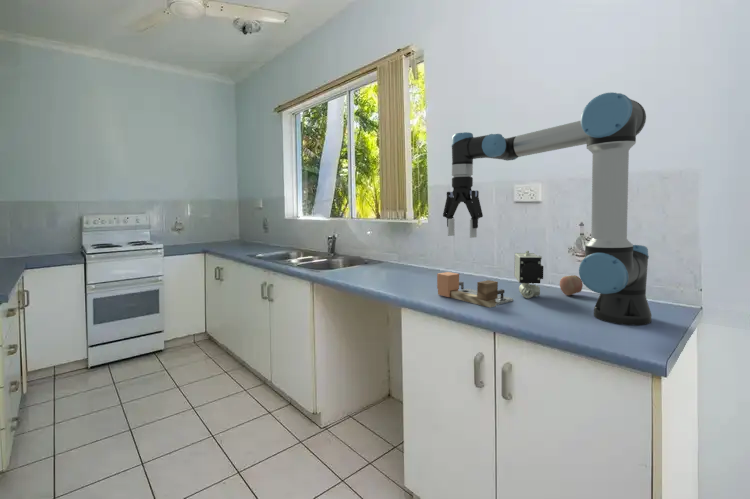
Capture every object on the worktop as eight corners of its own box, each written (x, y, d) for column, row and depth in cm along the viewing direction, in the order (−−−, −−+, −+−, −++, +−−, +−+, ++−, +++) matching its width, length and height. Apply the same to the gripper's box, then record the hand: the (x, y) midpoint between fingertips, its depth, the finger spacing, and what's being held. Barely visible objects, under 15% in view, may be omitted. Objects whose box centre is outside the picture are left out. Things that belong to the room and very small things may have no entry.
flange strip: (513, 301, 147) (513, 298, 147) (497, 304, 142) (497, 301, 142) (468, 290, 165) (468, 288, 165) (452, 294, 160) (452, 291, 160)
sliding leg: (468, 293, 159) (468, 272, 158) (448, 297, 153) (448, 275, 152) (457, 290, 164) (457, 270, 163) (437, 294, 158) (437, 273, 157)
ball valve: (544, 302, 144) (546, 253, 142) (520, 301, 146) (521, 253, 144) (535, 291, 161) (536, 248, 159) (513, 291, 163) (514, 248, 161)
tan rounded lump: (581, 294, 156) (582, 274, 155) (582, 298, 149) (583, 277, 148) (559, 292, 159) (559, 272, 158) (559, 296, 152) (559, 276, 151)
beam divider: (508, 303, 144) (509, 280, 143) (487, 308, 137) (487, 284, 136) (457, 291, 164) (458, 271, 163) (437, 295, 158) (437, 274, 157)
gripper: (494, 174, 139) (493, 237, 141) (447, 178, 158) (447, 234, 160) (479, 174, 135) (478, 239, 137) (433, 178, 154) (433, 235, 156)
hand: (461, 236), depth 149 cm, fingers open, 10 cm apart
